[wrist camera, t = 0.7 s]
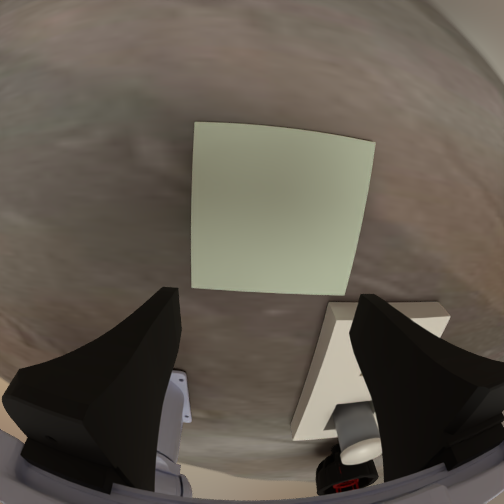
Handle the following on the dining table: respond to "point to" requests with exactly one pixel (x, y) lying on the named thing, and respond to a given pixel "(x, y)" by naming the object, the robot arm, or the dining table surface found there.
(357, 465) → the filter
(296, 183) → the mat
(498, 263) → the dining table surface
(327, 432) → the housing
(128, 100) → the dining table surface
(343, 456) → the cylinder
